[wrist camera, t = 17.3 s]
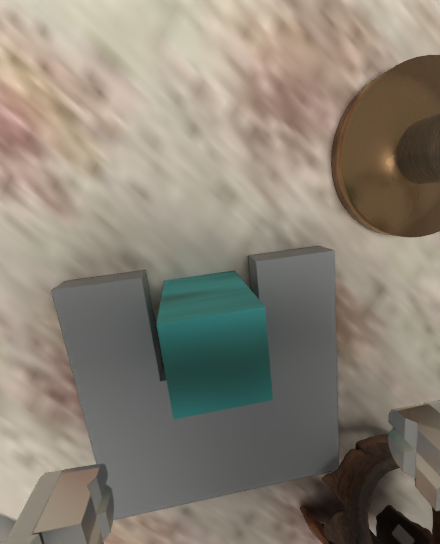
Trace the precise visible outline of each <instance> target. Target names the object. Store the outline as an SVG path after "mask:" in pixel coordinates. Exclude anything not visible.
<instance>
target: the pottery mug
mask: <svg viewBox="0 0 440 544" xmlns="http://www.w3.org/2000/svg"><path fill="white" fill-rule="evenodd" d="M397 468H400V467H399V466H398V465H397V463H396V462H395V460H394V458H393V456H392V454H391V451H390V448H389V445H388V435H381V436H373V437H369V438H367V439H364V440H360V441H358V442H357V443H356V449H350V450H349V452H348V453H347V454H346V455H345V458H344V460H343V461H342V463H341V464H340V466H339V468H338V469H337V470H336V471H334V472H333V473H330V474H327V475H326V476H324V477H323V478H322V480H323V481H324V482H325V483H326V484H327V485H328V486H329V488H330V489H331V490H332V491H333V493H334V494H335V495H336V496H337V497H338V498H339V500H340V501H341V502H342V504H343V505H344V507H345V510H343V511H338V512H336V513H334V515H333V516H332V518H331V519H330V521H329V522H328V523H326V524H322V523H320V522H319V521H317V520H316V519H315V518H314V517H312V516H311V515H310V513H309V512H308V511H307V509H306V508H305V507H304V506H303V507H301V508H300V510H301V512H302V514H303V516H304V518H305V520H306V522H307V524H308V526H309V528H310V530H311V531H312V532H313V534H314V535H315V536H316V537H317V538H318V539H319V540H320V541H321V542H322V543H323V544H440V510H439V511H435V510H434V508H433V507H432V511H433V529H432V533H431V532H430V531H429V530H428V529H426V528H423V527H421V526H420V525H419V524H417V523H414V522H412V521H410V520H409V519H408V518H406V517H405V516H404V515H403V514H402V513H401V512H399V511H396V510H395V509H394V508H393V507H392V506H391V505H388V506H386V507H385V509H384V510H383V511H382V512H381V513H379V514H378V515H377V516H376V520H377V525H376V531H377V537H376V536H375V535H374V534H373V532H372V531H371V530H370V529H369V523H368V509H369V503H370V500H371V496H372V493H373V491H374V488H375V486H376V485H377V483H378V481H379V480H380V479H381V478H382V477H383V476H384V475H385V474H386V473H387V472H388V471H392V470H394V469H397ZM432 534H433V535H432Z"/></svg>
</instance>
